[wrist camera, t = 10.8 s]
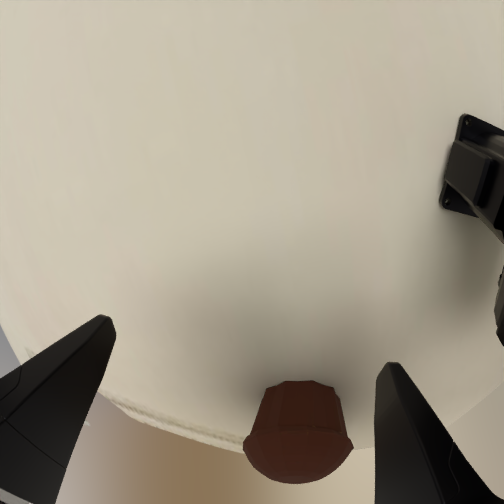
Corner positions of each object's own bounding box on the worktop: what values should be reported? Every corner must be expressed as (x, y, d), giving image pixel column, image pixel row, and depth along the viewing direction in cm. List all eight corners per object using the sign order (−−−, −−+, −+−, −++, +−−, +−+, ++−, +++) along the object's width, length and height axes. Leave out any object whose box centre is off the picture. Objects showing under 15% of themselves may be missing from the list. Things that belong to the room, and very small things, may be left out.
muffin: (310, 427, 35) (305, 494, 26) (235, 404, 33) (219, 477, 25) (372, 389, 29) (378, 471, 20) (287, 358, 27) (277, 456, 19)
